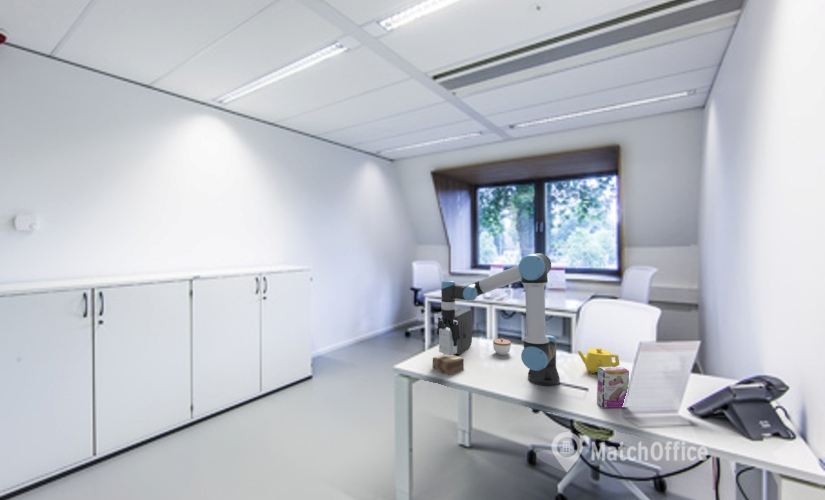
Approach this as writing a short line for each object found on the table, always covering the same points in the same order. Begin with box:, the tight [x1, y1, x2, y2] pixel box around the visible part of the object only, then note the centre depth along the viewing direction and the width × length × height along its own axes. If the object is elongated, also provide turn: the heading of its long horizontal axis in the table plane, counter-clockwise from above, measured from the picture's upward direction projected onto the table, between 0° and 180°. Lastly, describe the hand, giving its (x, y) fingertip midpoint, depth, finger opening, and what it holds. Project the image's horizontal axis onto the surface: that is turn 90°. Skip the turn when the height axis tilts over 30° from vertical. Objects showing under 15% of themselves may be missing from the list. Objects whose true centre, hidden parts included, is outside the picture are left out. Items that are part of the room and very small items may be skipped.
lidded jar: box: [492, 338, 512, 356], centre depth 218 cm, size 11×11×9 cm
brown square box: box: [432, 354, 465, 376], centre depth 193 cm, size 12×12×6 cm
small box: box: [438, 327, 457, 356], centre depth 192 cm, size 8×6×13 cm
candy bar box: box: [596, 366, 630, 409], centre depth 150 cm, size 11×5×16 cm, turn 92°
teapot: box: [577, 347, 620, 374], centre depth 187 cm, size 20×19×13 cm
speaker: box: [446, 309, 473, 356], centre depth 224 cm, size 25×9×25 cm, turn 149°
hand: (448, 349), depth 193 cm, fingers closed on small box, 8 cm apart
